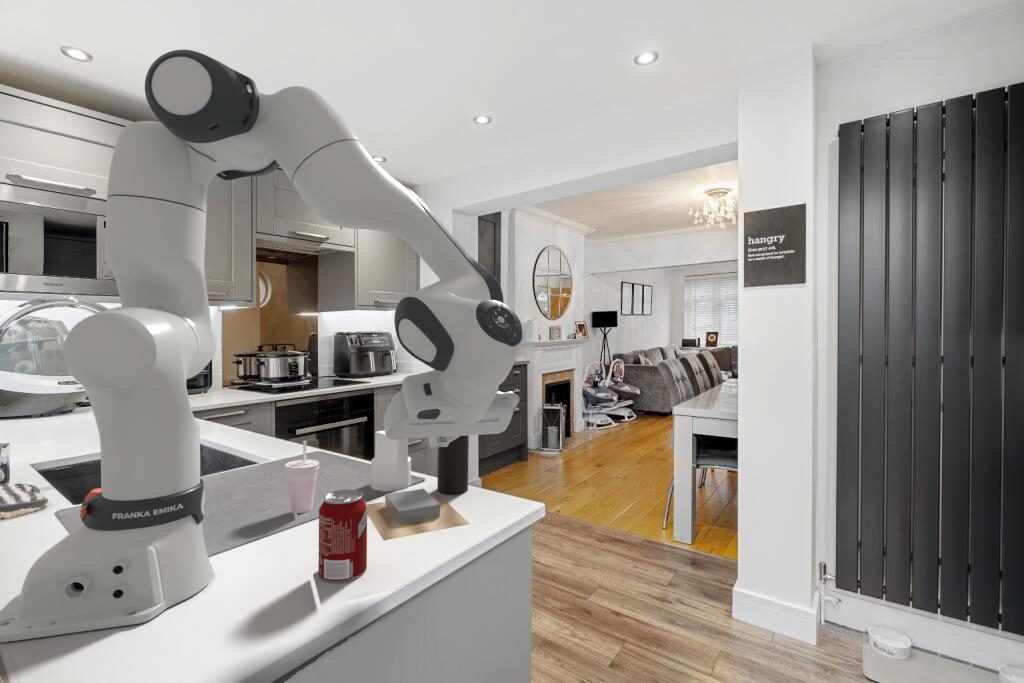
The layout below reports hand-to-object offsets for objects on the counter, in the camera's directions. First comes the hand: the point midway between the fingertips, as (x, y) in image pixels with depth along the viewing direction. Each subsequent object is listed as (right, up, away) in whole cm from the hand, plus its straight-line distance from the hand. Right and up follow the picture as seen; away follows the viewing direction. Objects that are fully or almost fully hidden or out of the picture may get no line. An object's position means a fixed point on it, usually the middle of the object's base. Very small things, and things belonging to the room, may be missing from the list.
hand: (437, 443), depth 82 cm
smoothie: (-29, -17, +15) cm, 37 cm away
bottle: (-1, -17, +28) cm, 32 cm away
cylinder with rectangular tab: (-16, -16, +32) cm, 39 cm away
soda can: (-13, -18, -9) cm, 24 cm away
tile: (-5, -15, +10) cm, 19 cm away
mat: (-7, -17, +13) cm, 22 cm away
